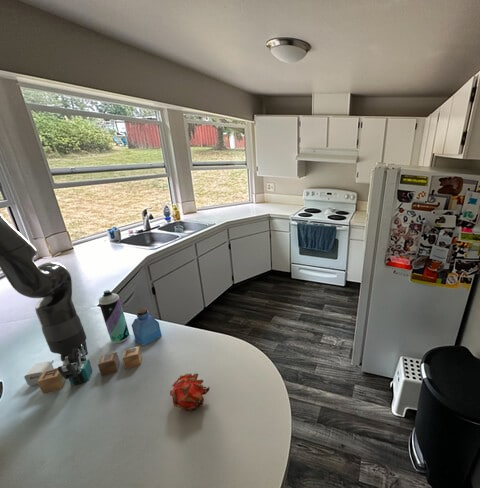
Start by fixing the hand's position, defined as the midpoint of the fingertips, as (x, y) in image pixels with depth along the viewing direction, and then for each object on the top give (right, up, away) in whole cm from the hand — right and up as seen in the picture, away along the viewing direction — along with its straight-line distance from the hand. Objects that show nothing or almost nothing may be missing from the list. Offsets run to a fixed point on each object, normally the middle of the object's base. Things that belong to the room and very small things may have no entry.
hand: (81, 377), depth 76 cm
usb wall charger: (-12, 0, +1) cm, 12 cm away
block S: (0, 0, 0) cm, 0 cm away
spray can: (-2, +5, +16) cm, 17 cm away
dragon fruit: (+37, -4, -6) cm, 38 cm away
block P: (+11, +1, +6) cm, 13 cm away
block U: (+6, +1, +3) cm, 7 cm away
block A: (-5, -1, -3) cm, 6 cm away
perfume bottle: (+8, +5, +17) cm, 20 cm away
